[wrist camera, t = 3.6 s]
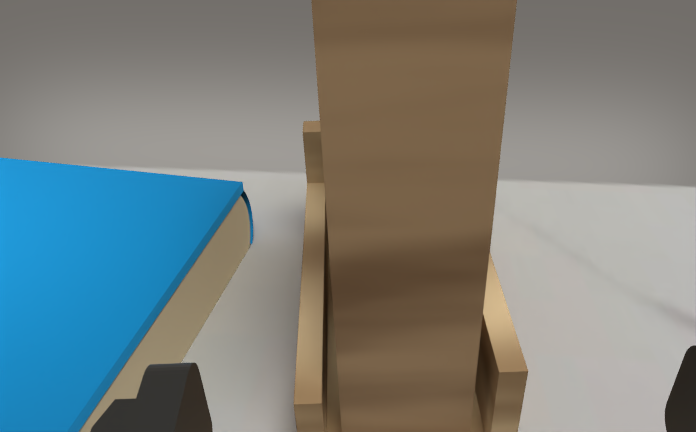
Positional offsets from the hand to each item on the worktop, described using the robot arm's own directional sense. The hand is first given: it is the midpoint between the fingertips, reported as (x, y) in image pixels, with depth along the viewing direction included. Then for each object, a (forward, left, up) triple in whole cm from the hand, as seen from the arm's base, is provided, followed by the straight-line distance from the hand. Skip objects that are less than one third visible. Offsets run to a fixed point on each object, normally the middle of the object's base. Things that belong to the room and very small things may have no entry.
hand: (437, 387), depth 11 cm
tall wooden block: (+7, +4, -9) cm, 12 cm away
